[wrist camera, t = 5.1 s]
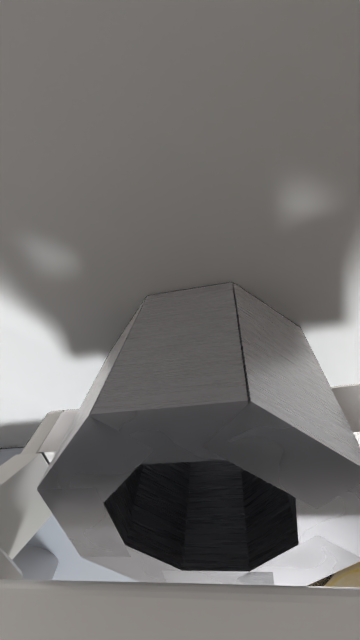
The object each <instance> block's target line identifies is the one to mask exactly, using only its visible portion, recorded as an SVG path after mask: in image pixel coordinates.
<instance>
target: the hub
mask: <svg viewBox="0 0 360 640" xmlns="http://www.w3.org/2000/svg"><path fill="white" fill-rule="evenodd" d="M37 491H38V492H39V494H40V495H41V497H42V498H43V500H44V501H45V503H46V505H47V506H48V508H49V509H50V511H51V512H52V514H53V515H54V517H55V518H56V520H57V521H58V523H59V524H60V526H61V527H62V529H63V530H64V532H65V533H66V535H67V537H68V538H69V540H70V541H71V543H72V544H73V546H74V547H75V549H76V550H77V552H78V553H79V555H80V556H81V557H82V558H84V559H86V560H89V561H91V562H93V563H96V564H98V565H100V566H103V567H105V568H107V569H110V570H112V571H115V572H117V573H119V574H122V575H124V576H126V577H129V578H131V579H133V580H136V581H138V582H157V583H199V584H240V585H280V586H307V585H310V584H312V583H314V582H316V581H318V580H320V579H323V578H325V577H327V576H329V575H331V574H334V573H336V572H338V571H340V570H342V569H345V568H347V567H349V566H351V565H353V564H355V563H358V562H360V445H359V443H358V441H357V439H356V437H355V435H354V433H353V431H352V429H351V427H350V425H349V423H348V421H347V419H346V417H345V415H344V413H343V411H342V409H341V407H340V405H339V403H338V401H337V399H336V397H335V395H334V393H333V391H332V389H331V387H330V385H329V383H328V381H327V379H326V377H325V375H324V373H323V371H322V369H321V367H320V365H319V363H318V361H317V359H316V357H315V355H314V353H313V351H312V349H311V347H310V345H309V343H308V341H307V339H306V337H305V335H304V333H303V331H302V329H301V328H300V327H299V326H297V325H296V324H294V323H293V322H291V321H290V320H288V319H287V318H285V317H284V316H282V315H281V314H279V313H278V312H276V311H275V310H273V309H272V308H271V307H269V306H268V305H266V304H265V303H263V302H262V301H260V300H259V299H257V298H256V297H254V296H253V295H251V294H250V293H248V292H247V291H245V290H244V289H242V288H241V287H239V286H238V285H236V284H235V283H234V282H233V284H232V282H230V283H224V284H217V285H211V286H205V287H198V288H192V289H186V290H180V291H173V292H167V293H161V294H154V295H148V296H147V297H146V298H145V300H144V301H143V303H142V304H141V306H140V307H139V309H138V310H137V312H136V313H135V315H134V316H133V318H132V319H131V321H130V322H129V324H128V325H127V327H126V328H125V330H124V331H123V333H122V334H121V336H120V337H119V339H118V341H117V342H116V344H115V345H114V347H113V348H112V350H111V351H110V353H109V355H108V356H107V358H106V360H105V362H104V364H103V366H102V368H101V370H100V371H99V373H98V375H97V377H96V379H95V381H94V383H93V384H92V386H91V388H90V390H89V392H88V394H87V396H86V397H85V399H84V401H83V403H82V405H81V407H80V409H79V410H78V412H77V414H76V416H75V418H74V420H73V422H72V424H71V425H70V427H69V429H68V431H67V433H66V435H65V437H64V438H63V440H62V442H61V444H60V446H59V448H58V450H57V451H56V453H55V455H54V457H53V459H52V461H51V463H50V464H49V466H48V468H47V470H46V472H45V474H44V476H43V478H42V479H41V481H40V483H39V485H38V487H37Z"/></svg>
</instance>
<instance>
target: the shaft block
mask: <svg viewBox="0 0 360 640" xmlns="http://www.w3.org/2000/svg"><path fill="white" fill-rule="evenodd" d="M24 448H25V447H24ZM24 448H9V449H0V466H1V465H2V464H4V463H5V462H6V461H8V460H9V459H10V458H12V457H13V456H14V455H18V454H21V452H22V451H23V449H24ZM12 561H13V562H14V563H15V564H16V565H17V566H18V568H19V569H20V570H21V571H22V575H23V577H22V579H31V580H73V581H115V582H138V581H136V580H133V579H131V578H129V577H126V576H124V575H122V574H119V573H117V572H115V571H112V570H110V569H107V568H105V567H103V566H100V565H98V564H96V563H93V562H91V561H89V560H86V559H84V558H82V557H81V556H80V555H79V553H78V552H77V550H76V549H75V547H74V546H73V544H72V543H71V541H70V540H69V538H68V537H67V535H66V533H65V532H64V530H63V529H62V527H61V526H60V524H59V523H58V521H57V520H56V518H55V517H54V515H53V514H52V515H51V516H50V518H49V519H48V520H47V521H46V522H45V523H44V524H43V525H42V527H41V528H40V529H39V530H38V531H37V532H36V533H35V535H34V536H33V537H32V538H31V539H30V540H29V541H28V542H27V544H26V545H25V546H24V547H23V548H22V549H21V550H20V552H19V553H18V554H17V555H16V556H15V557H14V558H13V559H12Z"/></svg>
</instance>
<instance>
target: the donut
mask: <svg viewBox="0 0 360 640" xmlns="http://www.w3.org/2000/svg"><path fill="white" fill-rule="evenodd" d="M323 587H360V562H358V563H355V564H353V565H351V566H349V567H347V568H345V569H342V570H340V571H338V572H336V573H335V574H334V575H333V576H332V577H331V578H330V580H329V581H328V582H327V583H326V584H325V585H324V586H323Z"/></svg>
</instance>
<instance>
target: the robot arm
mask: <svg viewBox="0 0 360 640" xmlns="http://www.w3.org/2000/svg"><path fill="white" fill-rule="evenodd" d="M331 389H332V391H333V393H334V395H335V397H336V399H337V401H338V403H339V405H340V407H341V409H342V411H343V413H344V415H345V417H346V419H347V421H348V423H349V425H350V427H351V429H352V431H353V433H354V435H355V437H356V439H357V441H358V443H359V445H360V384H353V385H343V386H333V387H331ZM78 410H79V409H72V410H62V411H51V412H49V413H48V414H47V415H46V416H45V418H44V419H43V421H42V422H41V424H40V425H39V427H38V428H37V430H36V431H35V433H34V434H33V436H32V437H31V439H30V440H29V442H28V443H27V445H26V446H25V448H24V449H23V451H22V452H21V454H18V455H14V456H13V457H12V458H10V459H9V460H8V461H6V462H5V463H4V464H2V465H1V466H0V640H360V587H320V586H280V585H240V584H199V583H157V582H115V581H73V580H31V579H22V577H23V575H22V571H21V570H20V569H19V568H18V566H17V565H16V564H15V563H14V562H13V561H12V559H13V558H14V557H15V556H16V555H17V554H18V553H19V552H20V550H21V549H22V548H23V547H24V546H25V545H26V544H27V542H28V541H29V540H30V539H31V538H32V537H33V536H34V535H35V533H36V532H37V531H38V530H39V529H40V528H41V527H42V525H43V524H44V523H45V522H46V521H47V520H48V519H49V518H50V516H51V515H52V512H51V511H50V509H49V508H48V506H47V505H46V503H45V501H44V500H43V498H42V497H41V495H40V494H39V492H38V491H37V487H38V485H39V483H40V481H41V479H42V478H43V476H44V474H45V472H46V470H47V468H48V466H49V464H50V463H51V461H52V459H53V457H54V455H55V453H56V451H57V450H58V448H59V446H60V444H61V442H62V440H63V438H64V437H65V435H66V433H67V431H68V429H69V427H70V425H71V424H72V422H73V420H74V418H75V416H76V414H77V412H78Z"/></svg>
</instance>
